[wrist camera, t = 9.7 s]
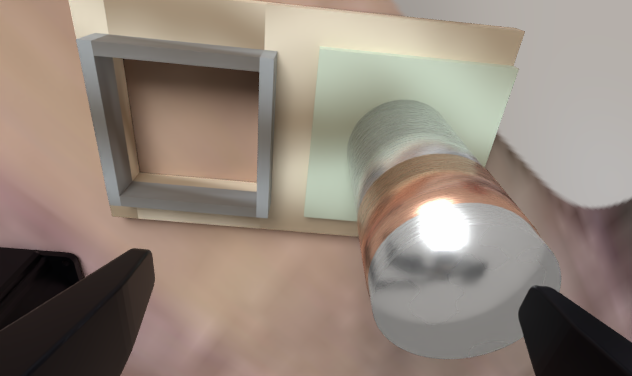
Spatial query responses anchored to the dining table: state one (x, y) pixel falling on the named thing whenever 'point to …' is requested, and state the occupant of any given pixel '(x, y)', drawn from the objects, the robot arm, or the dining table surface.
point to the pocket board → (286, 98)
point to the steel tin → (439, 237)
